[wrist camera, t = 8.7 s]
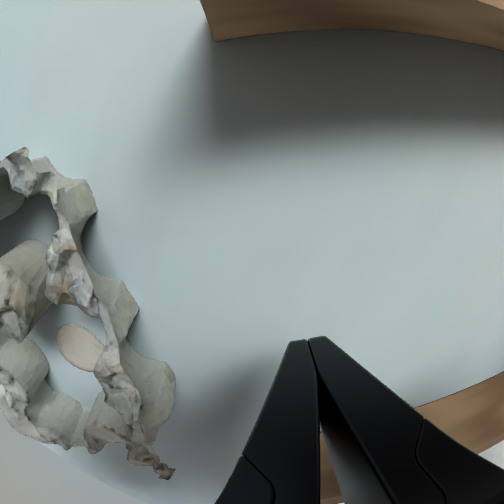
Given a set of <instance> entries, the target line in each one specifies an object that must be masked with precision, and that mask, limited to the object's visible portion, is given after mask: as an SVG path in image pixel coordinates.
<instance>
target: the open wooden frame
mask: <svg viewBox="0 0 504 504" xmlns="http://www.w3.org/2000/svg"><path fill="white" fill-rule="evenodd" d="M200 2H201V4H202V7H203V10H204V12H205V15H206V18H207V20H208V23H209V26H210V28H211V31H212V34H213V37H214V39H215V41H220V40H226V39H231V38H238V37H244V36H251V35H259V34H267V33H277V32H288V31H302V30H325V29H359V30H382V31H396V32H406V33H415V34H423V35H431V36H437V37H444V38H449V39H455V40H460V41H465V42H470V43H474V44H479V45H483V46H487V47H491V48H495V49H498V50H502V51H504V0H200ZM414 409H415V410H417V411H418V412H419V413H420V414H422V415H423V416H424V419H425V418H427V419H428V420H429V421H430V422H432V423H433V424H434V425H436V426H437V427H438V428H439V429H441V430H442V431H443V432H445V433H446V434H447V435H449V436H450V437H452V438H453V439H454V440H456V441H457V442H459V443H460V444H462V445H463V446H465V447H466V448H468V449H470V450H471V451H473V452H474V453H476V454H479V453H481V452H483V451H485V450H487V449H489V448H491V447H492V446H494V445H496V444H498V443H500V442H501V441H503V440H504V372H502V373H500V374H498V375H496V376H494V377H492V378H490V379H487V380H485V381H483V382H481V383H479V384H476V385H474V386H472V387H470V388H467V389H465V390H462V391H460V392H458V393H455V394H453V395H450V396H447V397H445V398H442V399H440V400H437V401H434V402H431V403H429V404H426V405H423V406H420V407H417V408H414ZM424 419H423V420H424ZM320 467H321V490H320V504H338V503H343V502H344V500H343V497H342V494H341V490H340V487H339V484H338V481H337V478H336V475H335V472H334V468H333V465H332V462H331V459H330V456H329V453H328V450H327V447H326V443H325V440H324V437H323V434H322V432H321V433H320Z"/></svg>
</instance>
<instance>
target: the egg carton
mask: <svg viewBox="0 0 504 504" xmlns="http://www.w3.org/2000/svg"><path fill="white" fill-rule="evenodd" d="M28 154H29V150H28V149H27V148H26V147H24V148H21V149H19V150H17V151H15V152H13V153H12V154H10V155H9V156H7V157H6V158H5V159H4V160H2V161H0V220H2V219H3V218H5V217H7V216H9V215H11V214H13V213H15V212H16V211H17V210H18V209H19V208H20V207H21V205H22V203H23V201H24V199H25V196H26V197H27V198H31V197H34V196H38V195H48V196H49V197H50V199H51V203H52V206H53V209H54V210H55V211H56V213H57V216H58V221H59V227H60V229H59V230H58V231H57V232H56V233H55V234H54V235H53V236H52V240H53V242H52V243H51V245H50V247H48V246H47V245H46V244H44V243H42V242H41V241H38V240H25V241H24V242H22V243H21V244H19V245H18V246H16V247H15V248H13V249H12V250H10V251H9V252H7V253H6V254H4V255H3V256H2V257H0V410H1V412H2V414H3V415H4V417H5V419H6V421H7V422H8V423H9V424H10V425H11V426H12V427H13V428H14V429H15V430H16V431H18V432H19V433H21V434H23V435H25V436H28V437H30V438H32V439H35V440H37V441H40V442H43V443H49V444H59V445H61V446H62V447H63V448H64V449H65V450H69V449H70V448H71V447H72V446H84V447H87V448H88V451H89V453H90V454H95V453H97V452H99V451H100V450H101V449H102V448H103V447H104V445H105V444H106V443H108V442H126V448H127V449H129V452H128V456H127V460H128V461H129V462H130V463H133V464H136V465H141V466H152V465H153V468H154V472H155V473H157V474H159V475H161V476H160V477H159V478H161V479H162V478H163V479H166V480H169V479H170V478H171V476H172V475H173V473H174V471H175V469H172V468H168V466H167V465H166V464H164V463H160V459H159V456H157V455H156V453H155V451H154V449H153V448H152V447H151V445H153V443H154V441H155V438H156V433H157V431H158V427H159V426H160V425H162V424H163V423H164V422H165V421H166V420H167V419H168V418H169V416H170V414H171V411H172V409H173V406H174V391H175V375H174V373H173V371H172V370H171V368H170V367H169V365H168V364H167V362H163V361H156V360H152V359H149V358H146V357H144V356H142V355H141V354H139V353H138V352H137V351H136V350H135V349H134V348H133V347H131V345H130V344H129V343H128V341H127V339H126V336H127V333H128V329H129V327H130V325H131V324H132V321H133V318H134V317H135V316H136V314H137V312H138V310H139V306H138V304H137V302H136V301H135V299H134V298H133V297H132V295H131V294H130V292H129V291H128V290H127V288H126V286H125V284H124V282H123V281H120V280H113V279H110V278H107V277H105V276H102V275H100V274H99V273H98V272H97V271H96V270H94V268H93V267H92V266H91V265H90V264H89V262H88V261H87V259H86V257H85V255H84V253H83V250H82V244H81V234H82V230H83V227H84V225H85V223H86V221H87V219H88V218H90V217H91V216H92V215H93V214H94V213H95V212H97V207H96V203H95V199H94V196H93V194H92V190H91V189H90V187H89V185H88V183H87V181H86V180H85V179H71V178H67V177H64V176H63V175H61V174H60V173H59V172H58V171H57V170H56V169H55V168H54V166H53V165H52V164H51V162H50V161H49V159H48V158H47V157H46V156H43V157H41V158H38V159H34V160H31V161H30V160H29V158H28ZM52 303H54V304H71V305H75V306H78V307H79V308H80V309H81V310H83V311H84V312H85V313H86V314H87V315H90V316H92V317H97V318H101V319H102V321H103V324H104V328H105V332H106V345H105V347H104V345H103V344H102V343H101V342H100V340H99V339H97V337H96V336H95V335H94V334H93V333H91V332H90V331H88V330H87V329H85V328H83V327H81V326H78V325H74V324H67V325H65V326H62V327H61V328H60V330H59V331H58V332H57V337H56V341H57V344H58V347H59V350H60V353H61V355H62V356H63V357H64V358H65V359H66V360H67V361H68V362H69V363H71V364H72V365H73V366H75V367H77V368H79V369H82V370H85V371H88V372H91V371H94V375H95V377H96V378H97V379H98V381H99V383H100V384H101V386H102V387H103V390H104V391H102V392H100V393H99V394H98V396H97V398H96V400H95V403H94V405H93V407H92V408H87V407H84V406H82V405H81V404H80V403H79V402H77V401H76V400H75V399H73V398H72V397H70V396H68V395H66V394H63V393H60V392H55V391H53V390H52V389H51V387H50V386H49V385H48V384H47V382H46V381H45V379H44V378H45V377H46V375H47V373H48V371H49V363H48V360H47V358H46V356H45V354H44V353H43V352H42V350H41V349H40V348H39V347H38V346H37V345H36V344H35V343H34V342H33V341H31V340H30V339H28V338H26V336H27V335H28V333H29V332H30V331H31V329H32V328H33V326H34V325H35V324H36V322H37V321H38V320H39V318H40V317H41V316H42V315H43V314H44V313H45V311H46V310H47V309H48V308H49V307H50V306H51V304H52Z"/></svg>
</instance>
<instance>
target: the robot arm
mask: <svg viewBox="0 0 504 504" xmlns="http://www.w3.org/2000/svg"><path fill="white" fill-rule="evenodd" d="M423 419H424V416H423V415H422V414H420V413H419V412H418V411H417V410H415V409H414V408H413V407H412V406H410V405H409V404H408V403H407V402H405V401H404V400H403V399H402V398H400V397H399V396H398V395H397V394H395V393H394V392H393V391H392V390H391V389H389V388H388V387H387V386H386V385H384V384H383V383H382V382H381V381H379V380H378V379H377V378H376V377H375V376H373V375H372V374H371V373H370V372H368V371H367V370H366V369H365V368H364V367H362V366H361V365H360V364H359V363H358V362H356V361H355V360H354V359H353V358H351V357H350V356H349V355H348V354H347V353H345V352H344V351H343V350H342V349H341V348H339V347H338V346H337V345H336V344H335V343H333V342H332V341H331V340H330V339H328V338H327V337H326V336H319V337H314V338H309V339H308V341H307V340H305V339H302V340H296V341H291V342H289V344H288V346H287V349H286V351H285V354H284V356H283V359H282V361H281V364H280V366H279V369H278V371H277V374H276V376H275V379H274V381H273V383H272V386H271V388H270V391H269V393H268V395H267V398H266V400H265V402H264V405H263V407H262V409H261V412H260V414H259V416H258V419H257V421H256V423H255V426H254V428H253V430H252V432H251V435H250V437H249V439H248V441H247V443H246V446H245V448H244V450H243V452H242V456H241V457H240V458H239V460H238V462H237V464H236V467H235V469H234V471H233V473H232V475H231V476H230V478H229V480H228V482H227V484H226V486H225V488H224V489H223V491H222V493H221V495H220V496H219V498H218V499H217V501H216V502H215V504H320V490H321V467H320V427H321V431H322V434H323V437H324V440H325V443H326V447H327V450H328V453H329V456H330V459H331V462H332V465H333V468H334V472H335V475H336V478H337V481H338V484H339V487H340V490H341V494H342V497H343V500H344V503H345V504H504V469H502V468H501V467H499V466H497V465H495V464H493V463H492V462H490V461H488V460H486V459H485V458H483V457H481V456H479V455H478V454H476V453H474V452H473V451H471V450H470V449H468V448H466V447H465V446H463V445H462V444H460V443H459V442H457V441H456V440H454V439H453V438H452V437H450V436H449V435H447V434H446V433H445V432H443V431H442V430H441V429H439V428H438V427H437V426H436V425H434V424H433V423H432V422H430V421H429V420H428V419H427V418H425V419H424V420H423Z"/></svg>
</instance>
